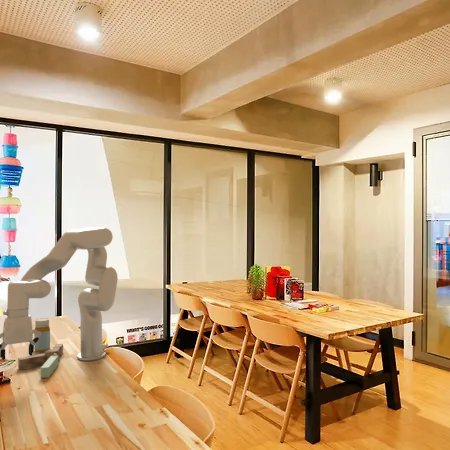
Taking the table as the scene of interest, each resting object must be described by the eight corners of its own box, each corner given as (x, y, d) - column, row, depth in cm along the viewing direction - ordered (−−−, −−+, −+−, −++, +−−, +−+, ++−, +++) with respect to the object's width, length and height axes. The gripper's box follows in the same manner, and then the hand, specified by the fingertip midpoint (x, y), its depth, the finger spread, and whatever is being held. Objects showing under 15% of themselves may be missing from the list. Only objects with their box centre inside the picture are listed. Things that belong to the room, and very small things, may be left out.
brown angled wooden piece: (58, 352, 199) (58, 341, 199) (76, 355, 194) (76, 344, 194) (15, 369, 176) (15, 357, 176) (34, 372, 172) (34, 360, 172)
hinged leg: (51, 364, 181) (51, 353, 181) (58, 363, 181) (58, 353, 181) (40, 377, 165) (40, 366, 165) (48, 377, 166) (48, 365, 166)
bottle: (45, 347, 207) (45, 317, 207) (52, 349, 202) (52, 319, 202) (31, 350, 202) (31, 319, 201) (38, 353, 197) (38, 322, 197)
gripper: (-6, 317, 153) (-7, 363, 153) (44, 312, 164) (43, 355, 163) (-9, 314, 159) (-10, 358, 159) (39, 309, 170) (38, 351, 169)
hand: (17, 357), depth 161 cm, fingers open, 9 cm apart
